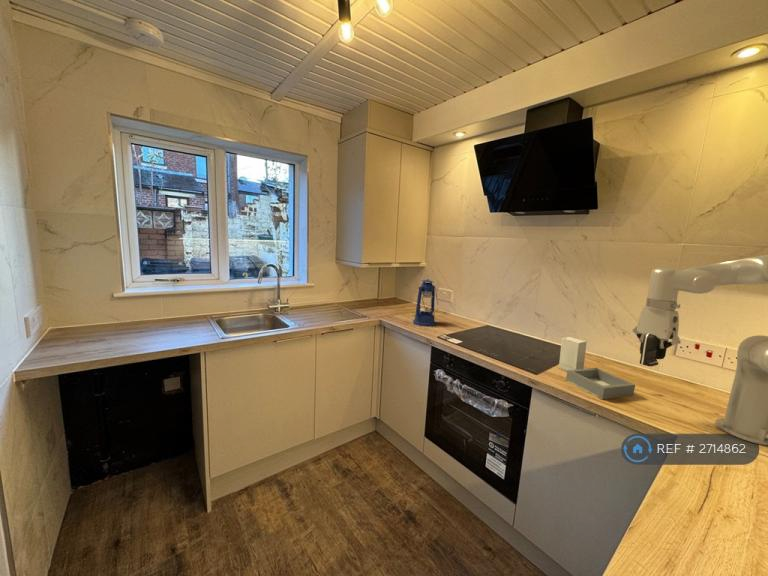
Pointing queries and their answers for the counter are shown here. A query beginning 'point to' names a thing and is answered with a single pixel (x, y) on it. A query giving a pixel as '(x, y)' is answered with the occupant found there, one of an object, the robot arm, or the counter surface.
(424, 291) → the lantern
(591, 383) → the bin
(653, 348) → the dark piece
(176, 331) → the counter surface
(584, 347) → the skincare box
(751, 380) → the robot arm
